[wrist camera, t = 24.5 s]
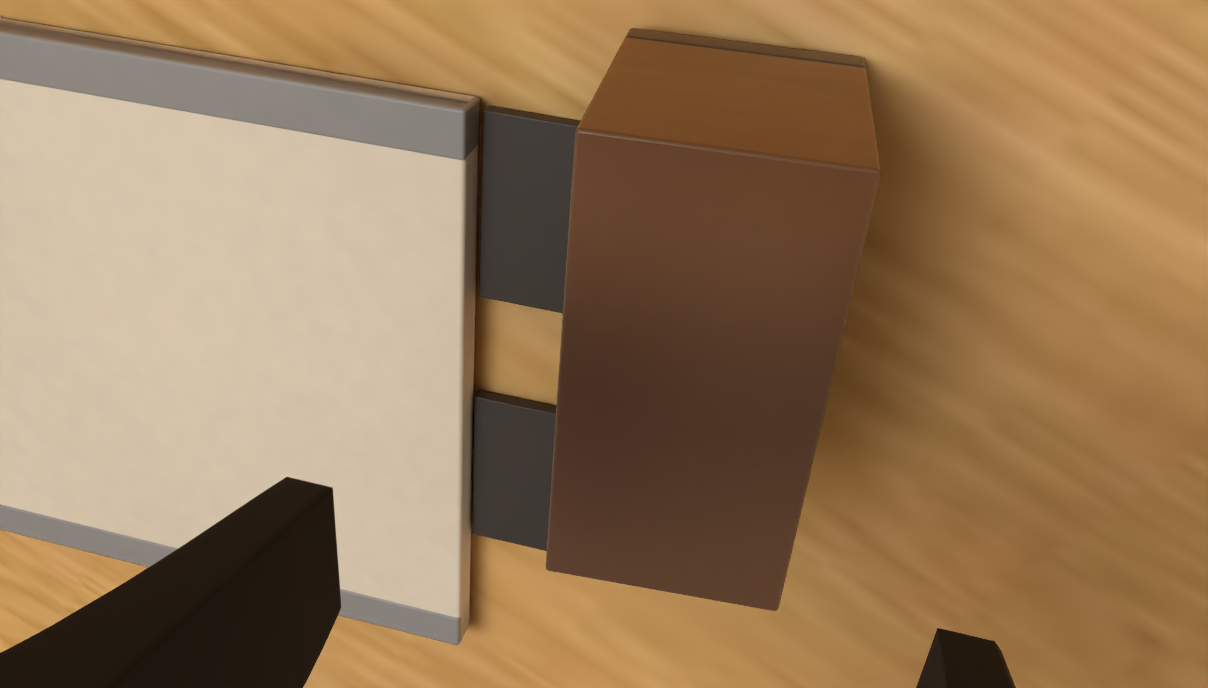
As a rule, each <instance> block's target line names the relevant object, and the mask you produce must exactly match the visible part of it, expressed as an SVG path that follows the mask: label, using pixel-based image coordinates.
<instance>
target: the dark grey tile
mask: <svg viewBox="0 0 1208 688" xmlns="http://www.w3.org/2000/svg"><path fill="white" fill-rule="evenodd" d="M580 122H581V121H578V120H572V119H566V118H560V117H554V116H548V115H542V114H536V113H530V112H524V111H518V110H513V109H507V108H501V107H495V106H487V107H486V108H485V109H484V111H483V147H482V190H481V233H480V275H479V296H480V297H484V298H489V299H494V300H499V301H504V302H509V303H514V304H519V305H524V306H529V307H535V308H540V309H545V310H550V311H555V312H560V313H563V305H564V290H565V276H566V261H567V246H568V231H569V217H570V202H571V187H572V173H573V158H574V143H575V131H576V129H577V127H578V125H579V123H580Z"/></svg>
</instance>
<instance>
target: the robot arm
mask: <svg viewBox="0 0 1208 688" xmlns="http://www.w3.org/2000/svg"><path fill="white" fill-rule="evenodd" d="M340 610H341V595H340V581H339V568H338V554H337V540H336V526H335V512H334V498H333V487H329V486H325V485H320V484H316V483H312V482H307V481H303V480H299V479H294V478H290V477H286V478H284V479H282V480H281V481H279V482H278V483H276V484H275V485H273V486H272V487H270V488H268V489H267V490H265V491H264V492H262V493H261V494H259V495H258V496H256V497H255V498H253V499H252V500H250V501H249V502H247V503H246V504H244V505H243V506H241V507H240V508H238V509H237V510H235V511H234V512H232V513H231V514H229V515H228V516H226V517H225V518H223V519H222V520H220V521H219V522H217V523H216V524H214V525H213V526H211V527H210V528H208V529H207V530H205V531H204V532H202V533H201V534H199V535H198V536H196V537H195V538H193V539H192V540H190V541H189V542H187V543H186V544H184V545H183V546H181V547H180V548H178V549H177V550H175V551H173V552H172V553H170V554H169V555H167V556H166V557H164V558H163V559H161V560H159V561H158V562H156V563H155V564H153V565H152V566H150V567H149V568H147V569H145V570H144V571H142V572H141V573H139V574H138V575H136V576H135V577H133V578H131V579H130V580H128V581H127V582H125V583H123V584H122V585H120V586H118V587H117V588H115V589H113V590H112V591H110V592H108V593H107V594H105V595H103V596H101V597H100V598H98V599H96V600H95V601H93V602H91V603H90V604H88V605H86V606H85V607H83V608H81V609H79V610H78V611H76V612H74V613H73V614H71V615H69V616H68V617H66V618H64V619H62V620H61V621H59V622H57V623H56V624H54V625H52V626H50V627H49V628H47V629H45V630H43V631H41V632H39V633H38V634H36V635H34V636H32V637H30V638H28V639H26V640H24V641H23V642H21V643H19V644H17V645H15V646H13V647H11V648H9V649H7V650H5V651H3V652H1V653H0V688H303V686H304V685H305V683H306V681H307V679H308V677H309V675H310V673H311V671H312V669H313V667H314V665H315V663H316V661H317V659H318V657H319V655H320V653H321V651H322V649H323V647H324V644H325V642H326V640H327V638H328V636H329V634H330V631H331V629H332V627H333V625H334V623H335V620H336V618H337V616H338V614H339V612H340ZM916 688H1016V687H1015V685H1014V682H1013V680H1012V677H1011V675H1010V672H1009V670H1008V667H1007V665H1006V662H1005V659H1004V657H1003V654H1002V651H1001V650H1000V649H999V647H998V646H997V644H996V643H995V641H991V640H987V639H982V638H978V637H974V636H969V635H965V634H961V633H957V632H952V631H948V630H944V629H939V628H937V631H936V634H935V637H934V640H933V642H932V645H931V648H930V651H929V654H928V656H927V659H926V662H925V665H924V668H923V670H922V673H921V676H920V679H919V682H918V684H917V687H916Z"/></svg>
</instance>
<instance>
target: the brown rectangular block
mask: <svg viewBox="0 0 1208 688" xmlns="http://www.w3.org/2000/svg"><path fill="white" fill-rule="evenodd" d="M880 176H881V170H880V163H879V156H878V149H877V141H876V134H875V127H874V120H873V113H872V106H871V99H870V92H869V85H868V78H867V72H866V66H865V60H864V58H862V57H857V56H850V55H842V54H834V53H826V52H818V51H810V50H802V49H794V48H787V47H779V46H771V45H763V44H755V43H747V42H739V41H731V40H724V39H716V38H708V37H700V36H692V35H684V34H676V33H668V32H661V31H653V30H645V29H637V28H632V29H630V30H629V32H628V34H627V36H626V38H625V39H624V41H623V43H622V45H621V46H620V48H619V50H618V52H617V54H616V56H615V58H614V60H613V61H612V63H611V65H610V67H609V69H608V71H607V73H606V75H605V76H604V78H603V80H602V82H601V84H600V86H599V88H598V90H597V92H596V93H595V95H594V97H593V99H592V101H591V103H590V105H589V107H588V108H587V110H586V112H585V114H584V116H583V118H582V120H581V122H580V123H579V125H578V127H577V129H576V131H575V143H574V158H573V173H572V187H571V202H570V217H569V231H568V246H567V261H566V276H565V290H564V305H563V320H562V334H561V349H560V364H559V378H558V393H557V408H556V422H555V437H554V452H553V466H552V481H551V496H550V511H549V525H548V540H547V555H546V569H547V570H549V571H554V572H560V573H565V574H571V575H576V576H582V577H588V578H593V579H599V580H604V581H610V582H616V583H621V584H627V585H632V586H638V587H644V588H649V589H655V590H660V591H666V592H672V593H677V594H683V595H688V596H694V597H699V598H705V599H711V600H716V601H722V602H727V603H733V604H739V605H744V606H750V607H755V608H761V609H767V610H772V611H777V609H778V608H779V604H780V600H781V595H782V591H783V587H784V583H785V578H786V574H787V570H788V566H789V561H790V557H791V553H792V549H793V544H794V540H795V536H796V532H797V527H798V523H799V519H800V515H801V510H802V506H803V502H804V498H805V494H806V489H807V485H808V481H809V477H810V472H811V468H812V464H813V460H814V455H815V451H816V447H817V443H818V438H819V434H820V430H821V426H822V421H823V417H824V413H825V409H826V404H827V400H828V396H829V392H830V388H831V383H832V379H833V375H834V371H835V366H836V362H837V358H838V354H839V349H840V345H841V341H842V337H843V332H844V328H845V324H846V320H847V315H848V311H849V307H850V303H851V299H852V294H853V290H854V286H855V282H856V277H857V273H858V269H859V265H860V260H861V256H862V252H863V248H864V243H865V239H866V235H867V231H868V226H869V222H870V218H871V214H872V209H873V205H874V201H875V197H876V193H877V188H878V184H879V180H880Z"/></svg>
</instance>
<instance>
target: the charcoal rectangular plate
mask: <svg viewBox="0 0 1208 688" xmlns="http://www.w3.org/2000/svg"><path fill="white" fill-rule="evenodd" d="M556 408H557V406H553V405H548V404H543V403H539V402H534V401H529V400H524V399H519V398H515V397H510V396H505V395H500V394H496V393H491V392H486V391H481V390H479V391H478V393H477V394H476V396H475V408H474V469H473V529H472V533H473V534H476V535H481V536H485V537H489V538H493V539H498V540H502V541H506V542H511V543H515V544H519V545H523V546H528V547H532V548H536V549H541V550H545V551H547V540H548V525H549V511H550V496H551V481H552V466H553V452H554V437H555V422H556Z"/></svg>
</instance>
